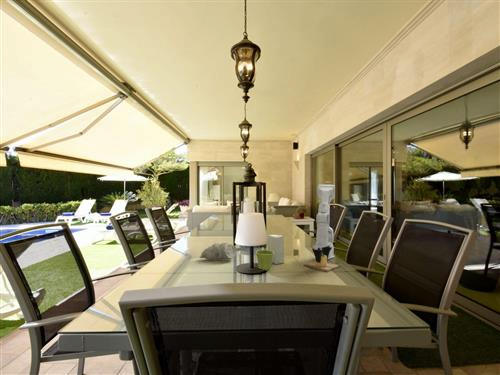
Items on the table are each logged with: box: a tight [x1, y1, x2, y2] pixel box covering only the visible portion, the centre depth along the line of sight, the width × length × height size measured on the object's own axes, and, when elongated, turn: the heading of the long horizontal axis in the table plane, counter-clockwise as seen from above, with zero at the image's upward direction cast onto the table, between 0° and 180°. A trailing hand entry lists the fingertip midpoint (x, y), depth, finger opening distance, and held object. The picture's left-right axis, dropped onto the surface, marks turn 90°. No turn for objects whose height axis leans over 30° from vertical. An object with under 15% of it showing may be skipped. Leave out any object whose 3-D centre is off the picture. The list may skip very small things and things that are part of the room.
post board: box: [303, 259, 341, 273], centre depth 151 cm, size 13×14×4 cm
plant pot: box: [254, 249, 274, 271], centre depth 143 cm, size 9×9×9 cm
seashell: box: [199, 242, 237, 261], centre depth 157 cm, size 16×15×10 cm
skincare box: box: [266, 234, 285, 265], centre depth 157 cm, size 8×6×15 cm
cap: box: [316, 255, 328, 266], centre depth 150 cm, size 6×6×5 cm
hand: (321, 261), depth 151 cm, fingers open, 7 cm apart
